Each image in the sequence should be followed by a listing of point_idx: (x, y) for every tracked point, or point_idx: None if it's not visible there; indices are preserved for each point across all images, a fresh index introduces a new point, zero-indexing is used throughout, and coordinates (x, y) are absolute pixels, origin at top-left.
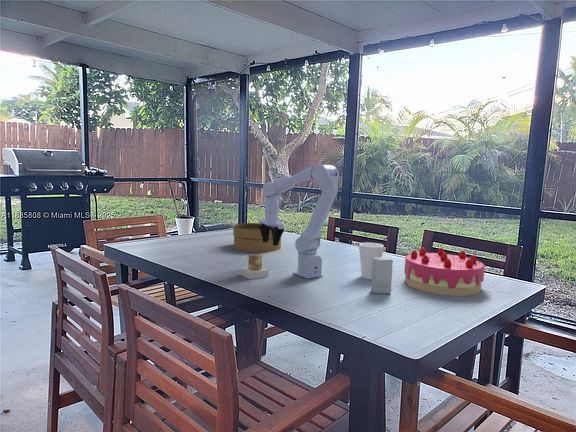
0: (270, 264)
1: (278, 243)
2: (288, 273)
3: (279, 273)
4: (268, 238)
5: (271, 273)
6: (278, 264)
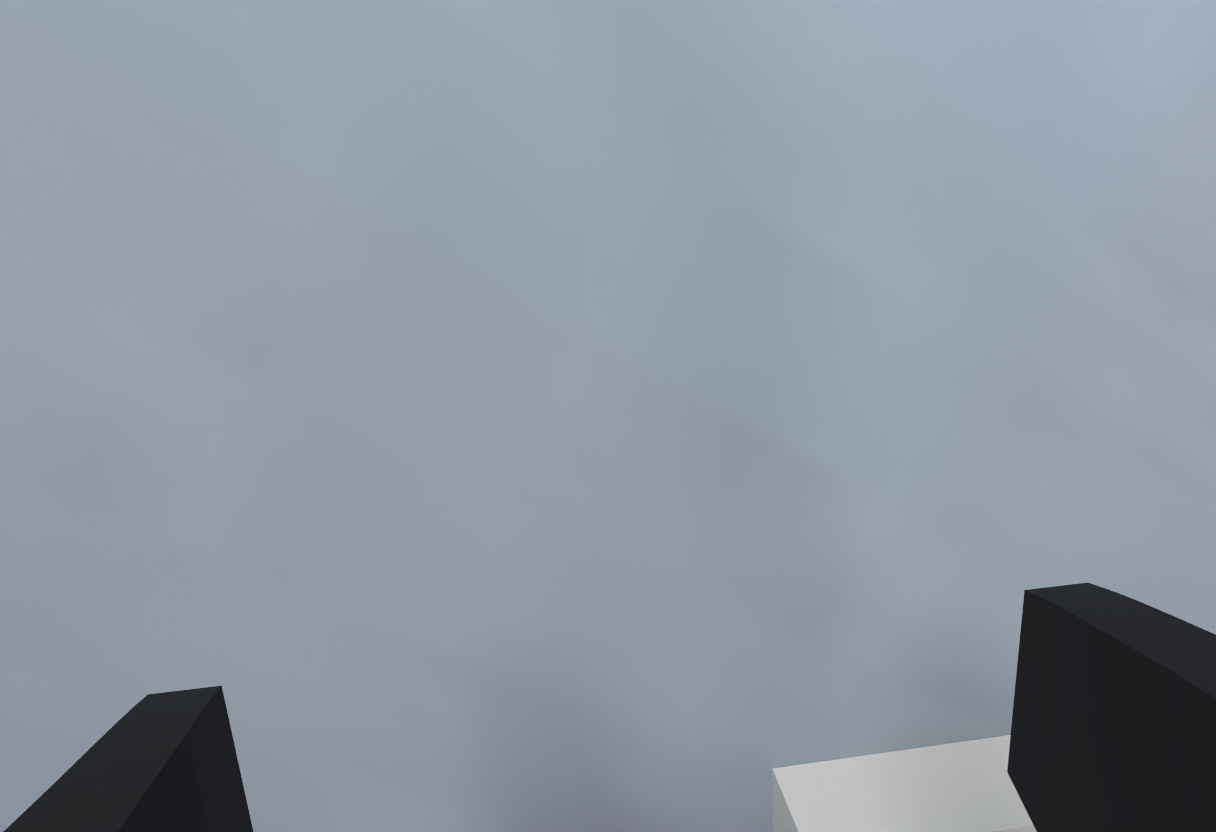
0: (309, 228)
1: (1151, 623)
2: (1201, 275)
3: (1094, 443)
4: (163, 781)
5: (1007, 580)
6: (385, 20)
